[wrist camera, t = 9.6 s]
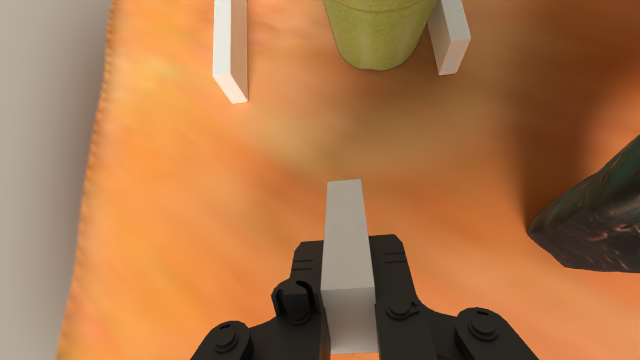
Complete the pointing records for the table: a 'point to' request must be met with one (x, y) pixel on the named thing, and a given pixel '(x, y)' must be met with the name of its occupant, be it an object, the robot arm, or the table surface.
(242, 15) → the white u-shaped frame
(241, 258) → the table surface
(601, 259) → the ceramic cat
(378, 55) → the plant pot
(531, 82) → the table surface
